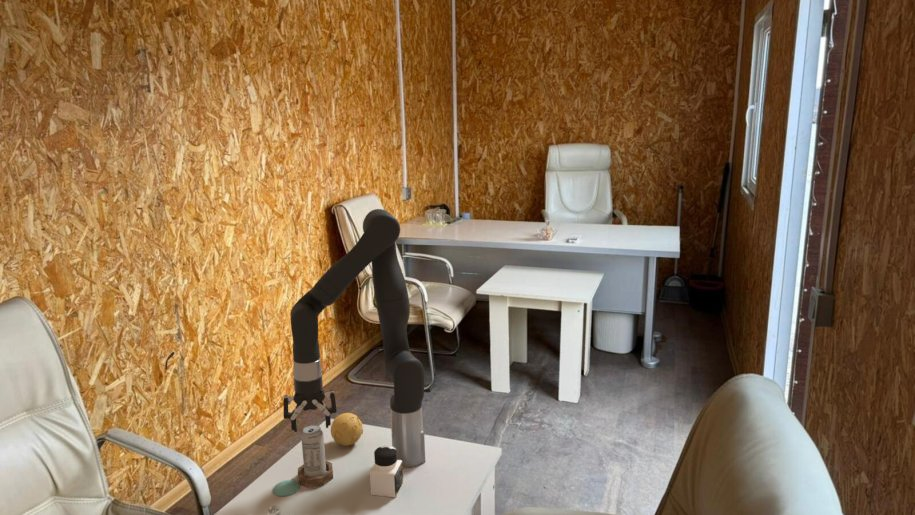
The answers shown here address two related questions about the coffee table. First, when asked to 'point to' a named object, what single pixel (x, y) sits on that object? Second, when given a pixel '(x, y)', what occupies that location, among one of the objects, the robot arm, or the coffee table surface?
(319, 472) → the energy drink can
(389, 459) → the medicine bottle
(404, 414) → the robot arm
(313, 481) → the collar
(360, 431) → the stress ball
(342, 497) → the coffee table surface
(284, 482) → the coaster
